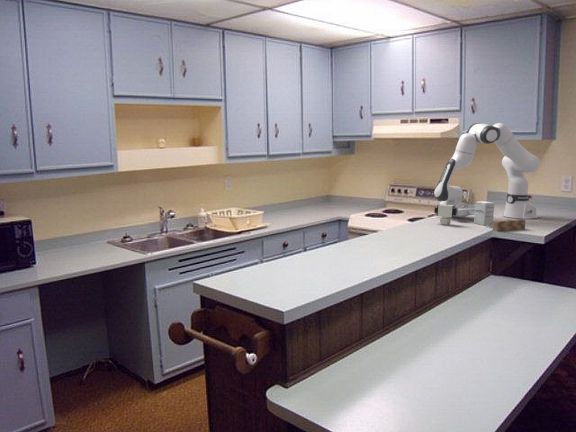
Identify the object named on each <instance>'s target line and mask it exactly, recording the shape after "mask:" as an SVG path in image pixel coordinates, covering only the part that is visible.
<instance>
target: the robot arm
mask: <svg viewBox="0 0 576 432" xmlns="http://www.w3.org/2000/svg"><path fill="white" fill-rule="evenodd" d="M480 143H483V144H485V145H490V144H493V143H494V144H495V146H496V147H497V148H498V150H499V151H500V152H501V154H502V155H503V158H502V160H501V166H502V167H503V169H504V170H505V172H506V174H507V180H508V185H507V186H508V187H507V190H508V191H507V193H506V202H505V207H504V210H503V211H504V212H503V213H502V216H503V217H505V218H510V219H513V218H514V219H523V220H530V219H536V218H538V217H539V218H541V215H539V214H537V207H536V206H535V205H534V204H533V203H532V202H531V201H530V200H531V199H533V195H530V194H529V195H528V192H529V191H528V190H529V180H527V179H526V177H525V173H534V172H535V171H538V169H540V166H541V165H540V164H541V161H540V159H539V156H537V155H534V154H532V153H531V152H530V151H528V149H526V148H525V146H523V145H521V142H519V141H518V139H517V138H516V136H515V135H514V133H513V132H512V131H511V130H510V128H509V127H508V126H507V125H506V124H505V123H502V122H498V123H497V122H496V123H494V124H493V125H490V124H487V123H481V122H477V123H473V124H471V125H470V126H469V127H468V129H467V131H466V132H465V133H463V134H461V135H460V137H459V139H458V142H457V144H456V146H455V151H454V152H453V153H454V154H453V155H452V156H451V158H450V159H449V160H448V161H447V162H446V164H445V167H444V169H443V171H442V174H441V175H440V179H439V180H438V183H437V185H436V187H434V190H433V195H434V198H435V199H436V200H437V201H438V202H439V204H445V205H446V203H447V205H455V207H456V208H458V213H457V215H455V217H458V218H465V217H468V216H475V205H474V204H472V203H468V204H466V203H462V200H463V197H464V190H463V189H462V187H461V186H457V185H450V182H451V179H452V178H453V175H454V173H455V172H456V171H457V170H459V169H462V168H465V167H467V166H468V167H469V165H471V163H472V161H473V160H474V156H475V153H476V148H477V146H478V145H479V144H480Z"/></svg>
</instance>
